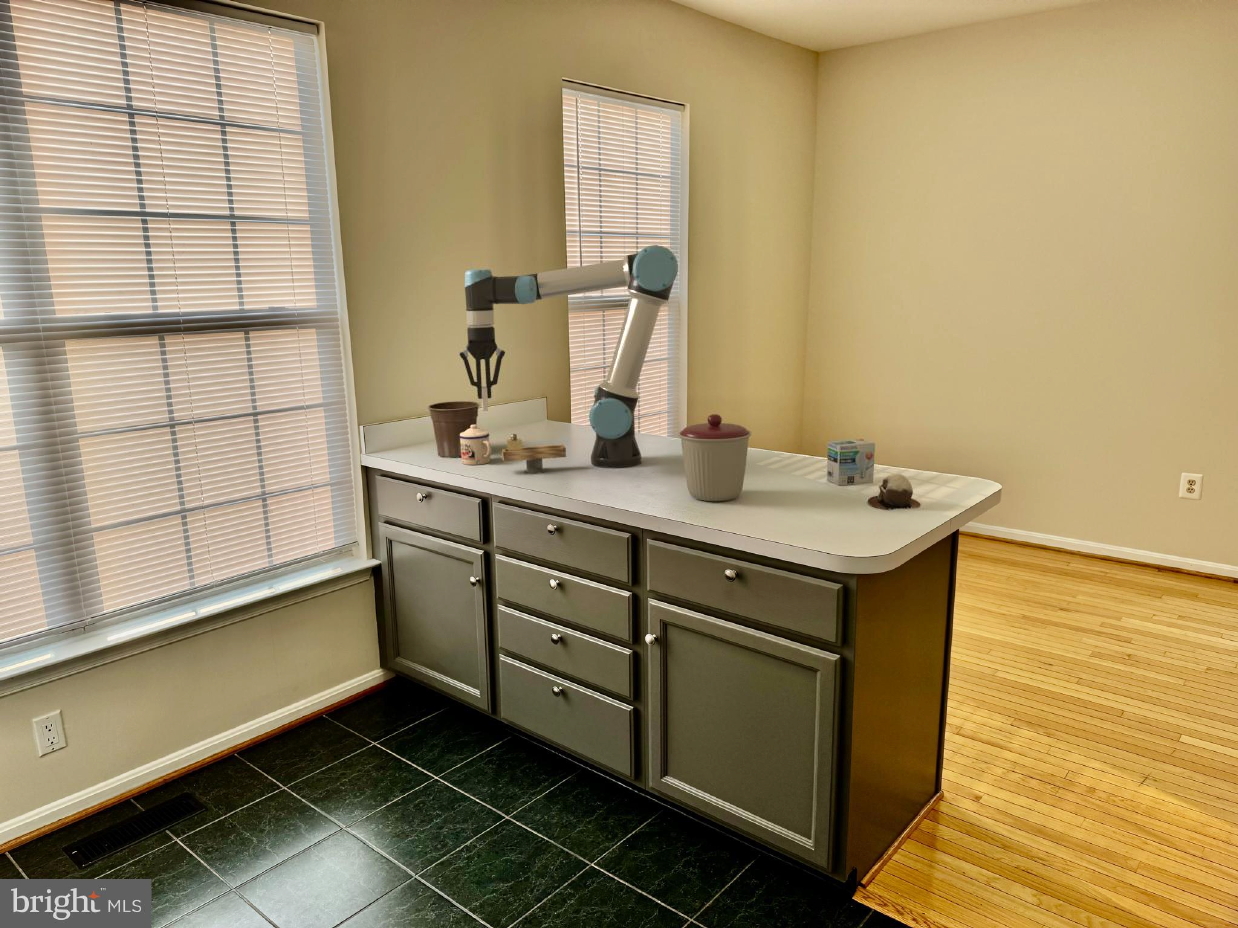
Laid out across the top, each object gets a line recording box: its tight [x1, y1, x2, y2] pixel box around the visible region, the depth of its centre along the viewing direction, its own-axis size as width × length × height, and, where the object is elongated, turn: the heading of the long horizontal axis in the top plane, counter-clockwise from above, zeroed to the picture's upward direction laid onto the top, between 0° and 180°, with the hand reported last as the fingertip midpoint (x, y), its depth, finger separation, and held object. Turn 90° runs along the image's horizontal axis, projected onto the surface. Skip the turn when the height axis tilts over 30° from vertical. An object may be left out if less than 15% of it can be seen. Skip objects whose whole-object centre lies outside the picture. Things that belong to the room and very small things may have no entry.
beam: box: [501, 444, 567, 474], centre depth 256 cm, size 18×6×7 cm, turn 103°
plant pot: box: [427, 400, 480, 459], centre depth 283 cm, size 16×16×16 cm
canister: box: [677, 413, 752, 502], centre depth 220 cm, size 18×18×21 cm
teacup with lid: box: [459, 425, 492, 466], centre depth 269 cm, size 12×9×12 cm
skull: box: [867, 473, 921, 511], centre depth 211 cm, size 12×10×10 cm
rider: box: [506, 433, 523, 451], centre depth 254 cm, size 4×3×6 cm
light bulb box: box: [826, 438, 876, 486], centre depth 233 cm, size 11×7×11 cm, turn 105°
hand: (485, 410), depth 250 cm, fingers closed
